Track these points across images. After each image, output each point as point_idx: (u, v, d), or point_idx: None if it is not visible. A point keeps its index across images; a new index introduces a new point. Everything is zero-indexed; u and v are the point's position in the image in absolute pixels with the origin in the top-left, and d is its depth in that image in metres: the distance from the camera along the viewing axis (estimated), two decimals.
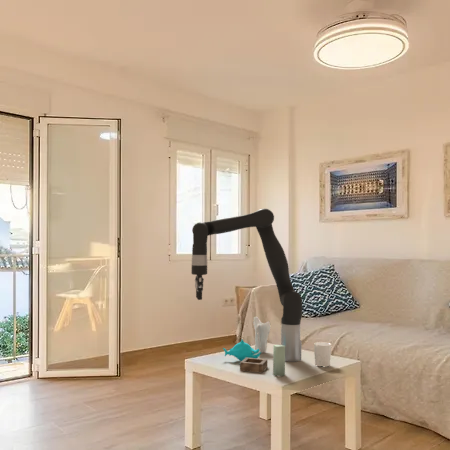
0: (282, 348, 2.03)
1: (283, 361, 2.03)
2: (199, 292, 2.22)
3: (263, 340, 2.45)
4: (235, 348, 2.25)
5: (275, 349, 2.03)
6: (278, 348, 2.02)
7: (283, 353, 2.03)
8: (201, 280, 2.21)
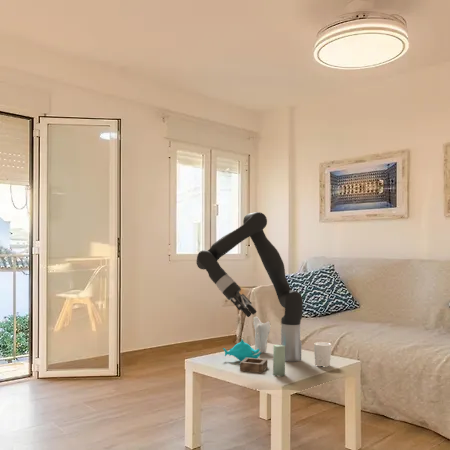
0: (282, 348, 2.03)
1: (283, 361, 2.03)
2: (243, 310, 2.05)
3: (263, 340, 2.45)
4: (235, 348, 2.25)
5: (275, 349, 2.03)
6: (278, 348, 2.02)
7: (283, 353, 2.03)
8: (235, 299, 2.05)
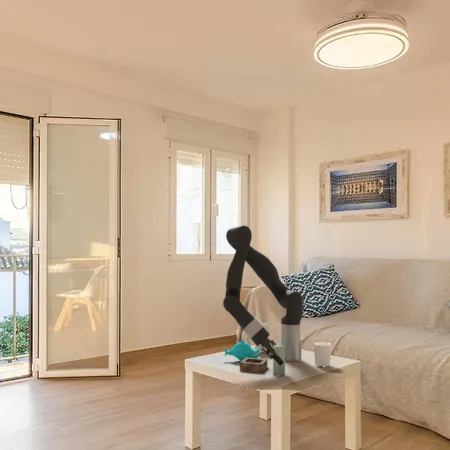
0: (282, 348, 2.02)
1: None
2: (275, 358, 2.01)
3: None
4: (235, 348, 2.25)
5: (275, 349, 2.03)
6: (278, 348, 2.02)
7: (283, 353, 2.03)
8: (266, 348, 2.00)
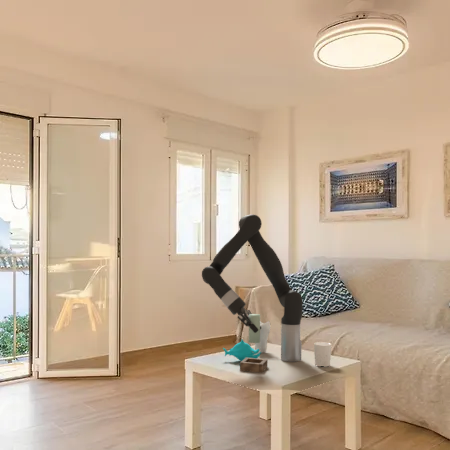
0: (257, 316, 2.12)
1: (258, 329, 2.12)
2: (250, 326, 2.10)
3: (263, 340, 2.45)
4: (235, 348, 2.25)
5: (250, 317, 2.12)
6: (253, 316, 2.12)
7: (258, 321, 2.12)
8: (242, 316, 2.09)
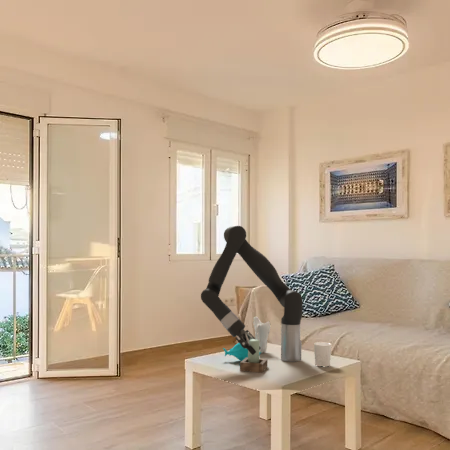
0: (256, 342, 2.11)
1: (257, 355, 2.11)
2: (248, 348, 2.09)
3: (263, 340, 2.45)
4: (235, 348, 2.25)
5: None
6: (252, 342, 2.11)
7: (257, 347, 2.11)
8: (239, 337, 2.09)
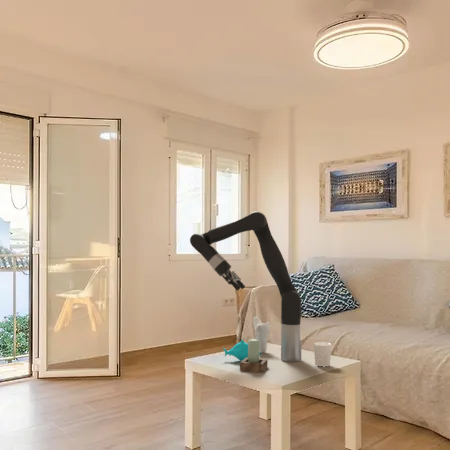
0: (256, 342, 2.11)
1: (257, 355, 2.11)
2: (233, 284, 2.30)
3: (263, 340, 2.45)
4: (235, 348, 2.25)
5: (250, 343, 2.12)
6: (252, 342, 2.11)
7: (258, 347, 2.12)
8: (225, 275, 2.30)
